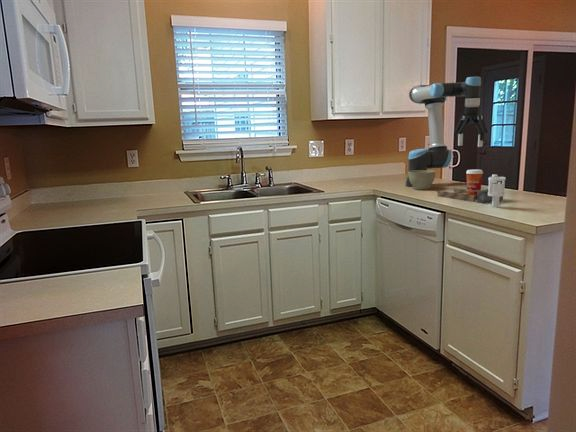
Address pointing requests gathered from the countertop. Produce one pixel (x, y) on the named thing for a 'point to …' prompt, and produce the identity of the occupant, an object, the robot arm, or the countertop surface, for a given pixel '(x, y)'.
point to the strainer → (496, 189)
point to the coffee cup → (474, 181)
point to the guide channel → (462, 195)
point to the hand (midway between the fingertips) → (469, 146)
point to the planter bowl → (421, 178)
